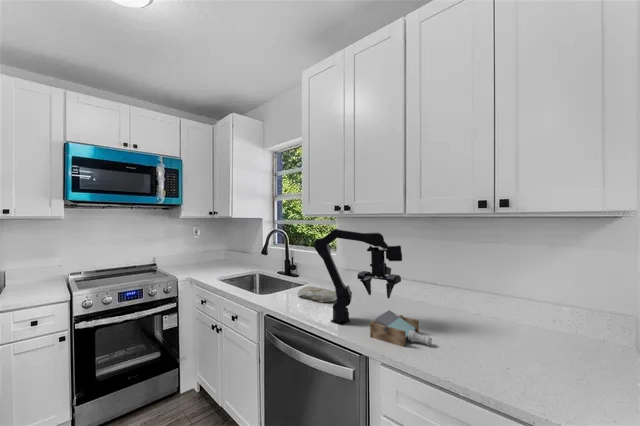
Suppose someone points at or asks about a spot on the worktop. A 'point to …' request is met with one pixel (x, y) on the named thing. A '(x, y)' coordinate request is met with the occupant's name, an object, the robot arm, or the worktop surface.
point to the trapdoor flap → (394, 322)
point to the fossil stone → (317, 294)
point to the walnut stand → (392, 332)
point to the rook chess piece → (418, 338)
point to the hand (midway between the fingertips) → (379, 296)
